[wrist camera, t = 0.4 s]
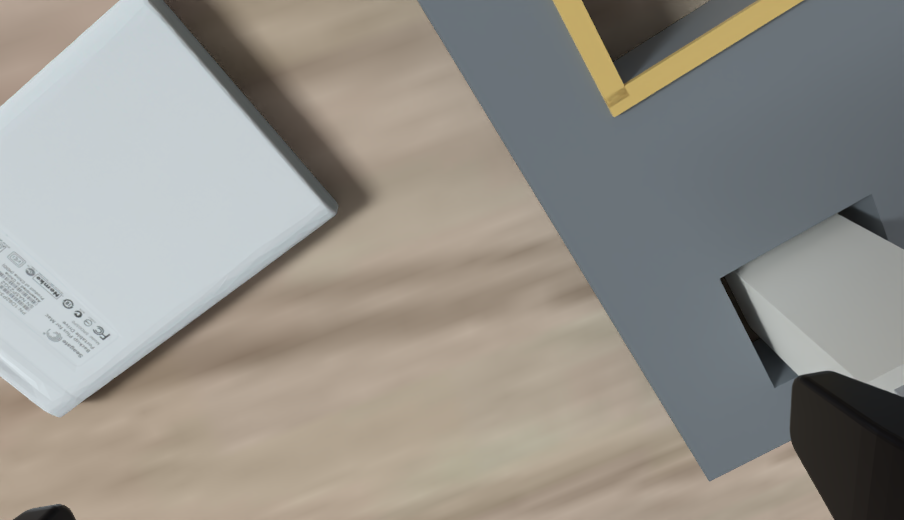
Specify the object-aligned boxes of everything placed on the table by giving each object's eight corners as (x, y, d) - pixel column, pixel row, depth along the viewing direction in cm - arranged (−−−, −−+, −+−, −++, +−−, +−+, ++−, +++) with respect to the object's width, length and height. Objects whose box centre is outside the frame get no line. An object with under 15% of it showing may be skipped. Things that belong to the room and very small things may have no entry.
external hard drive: (341, 200, 21) (77, 396, 24) (155, -18, 18) (-128, 230, 21) (337, 217, 20) (55, 424, 22) (133, -18, 17) (-169, 250, 19)
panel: (974, 284, 24) (1040, 320, 21) (682, 436, 26) (711, 485, 23) (768, -396, 15) (837, -467, 13) (358, -96, 17) (352, -108, 15)
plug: (840, 277, 23) (1064, 429, 15) (749, 326, 24) (920, 498, 16) (808, 198, 22) (1036, 321, 14) (712, 252, 22) (880, 399, 15)
